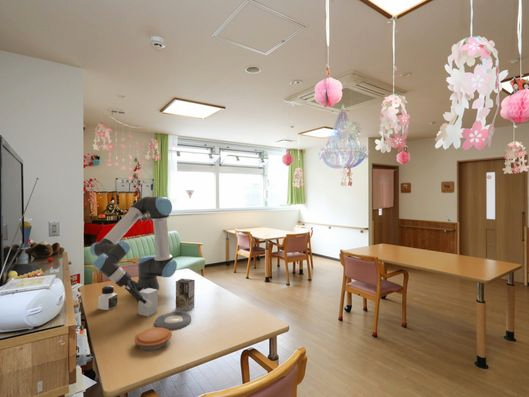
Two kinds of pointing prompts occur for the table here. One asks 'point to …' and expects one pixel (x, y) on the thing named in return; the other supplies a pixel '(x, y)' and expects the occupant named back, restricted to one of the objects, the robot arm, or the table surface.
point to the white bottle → (107, 298)
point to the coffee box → (185, 294)
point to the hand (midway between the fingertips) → (150, 301)
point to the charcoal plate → (173, 320)
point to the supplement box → (150, 301)
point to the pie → (153, 338)
